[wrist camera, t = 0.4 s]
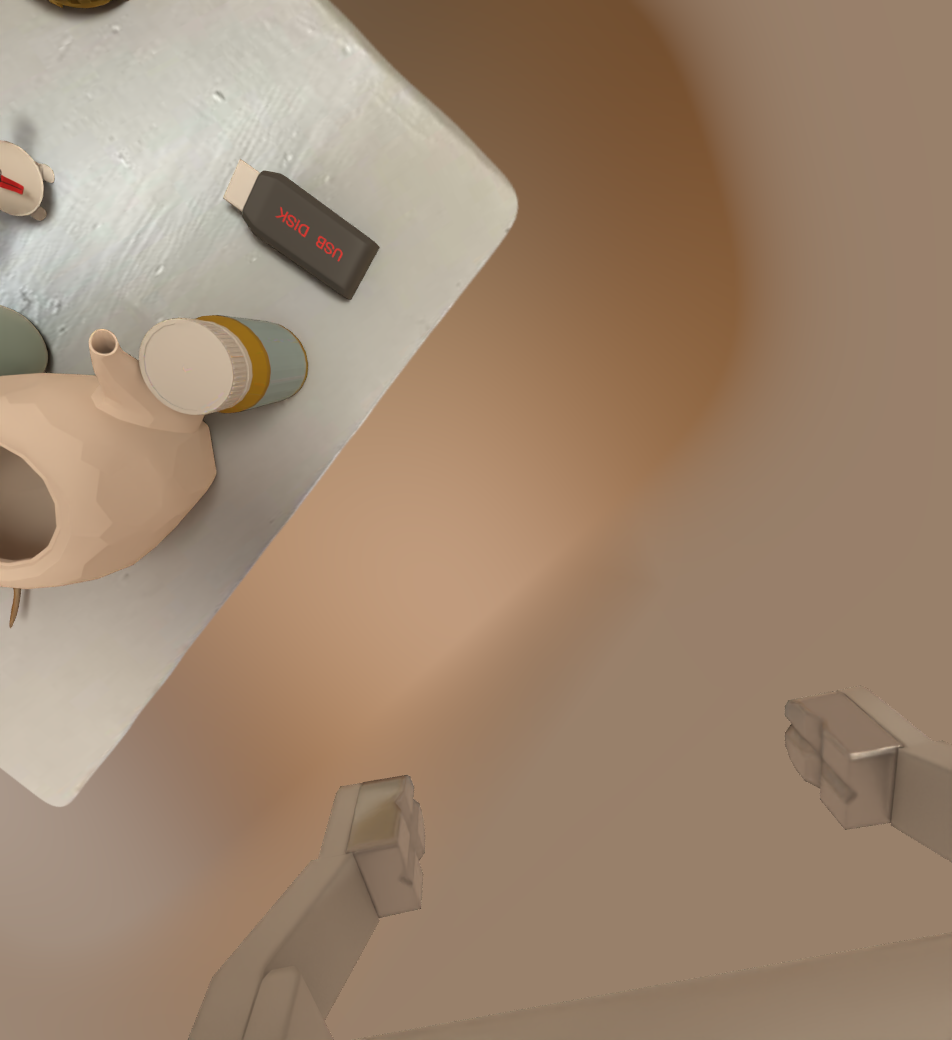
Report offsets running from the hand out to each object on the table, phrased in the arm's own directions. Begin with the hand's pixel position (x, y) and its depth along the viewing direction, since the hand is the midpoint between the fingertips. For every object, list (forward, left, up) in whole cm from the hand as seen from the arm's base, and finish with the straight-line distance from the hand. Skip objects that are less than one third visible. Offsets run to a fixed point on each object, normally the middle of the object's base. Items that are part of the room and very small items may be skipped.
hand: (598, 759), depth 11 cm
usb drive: (-20, -14, -41) cm, 48 cm away
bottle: (-10, -20, -41) cm, 47 cm away
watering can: (-5, -33, -41) cm, 53 cm away
